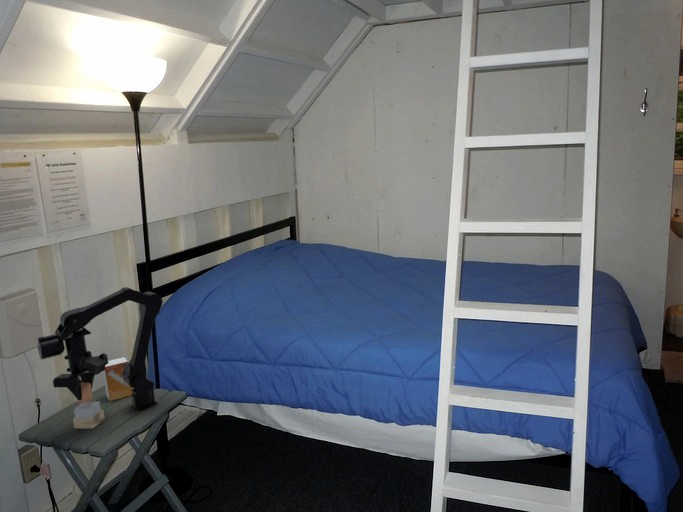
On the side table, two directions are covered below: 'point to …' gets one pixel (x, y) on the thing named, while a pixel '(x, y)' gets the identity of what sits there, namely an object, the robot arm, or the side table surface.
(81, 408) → the grey-blue top block
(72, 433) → the side table surface
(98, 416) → the oak base block
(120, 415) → the side table surface
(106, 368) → the small box
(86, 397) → the terracotta rounded cylinder
